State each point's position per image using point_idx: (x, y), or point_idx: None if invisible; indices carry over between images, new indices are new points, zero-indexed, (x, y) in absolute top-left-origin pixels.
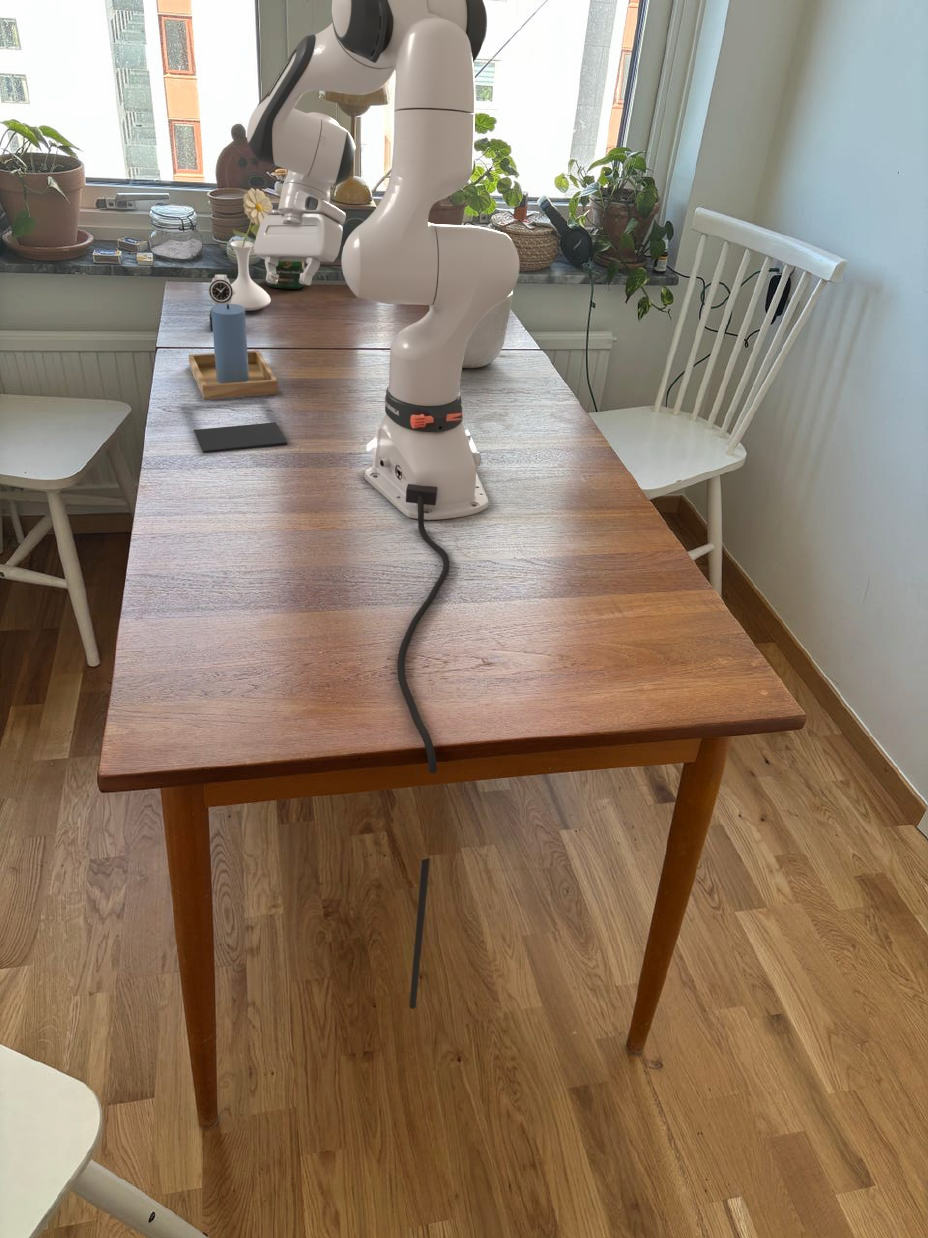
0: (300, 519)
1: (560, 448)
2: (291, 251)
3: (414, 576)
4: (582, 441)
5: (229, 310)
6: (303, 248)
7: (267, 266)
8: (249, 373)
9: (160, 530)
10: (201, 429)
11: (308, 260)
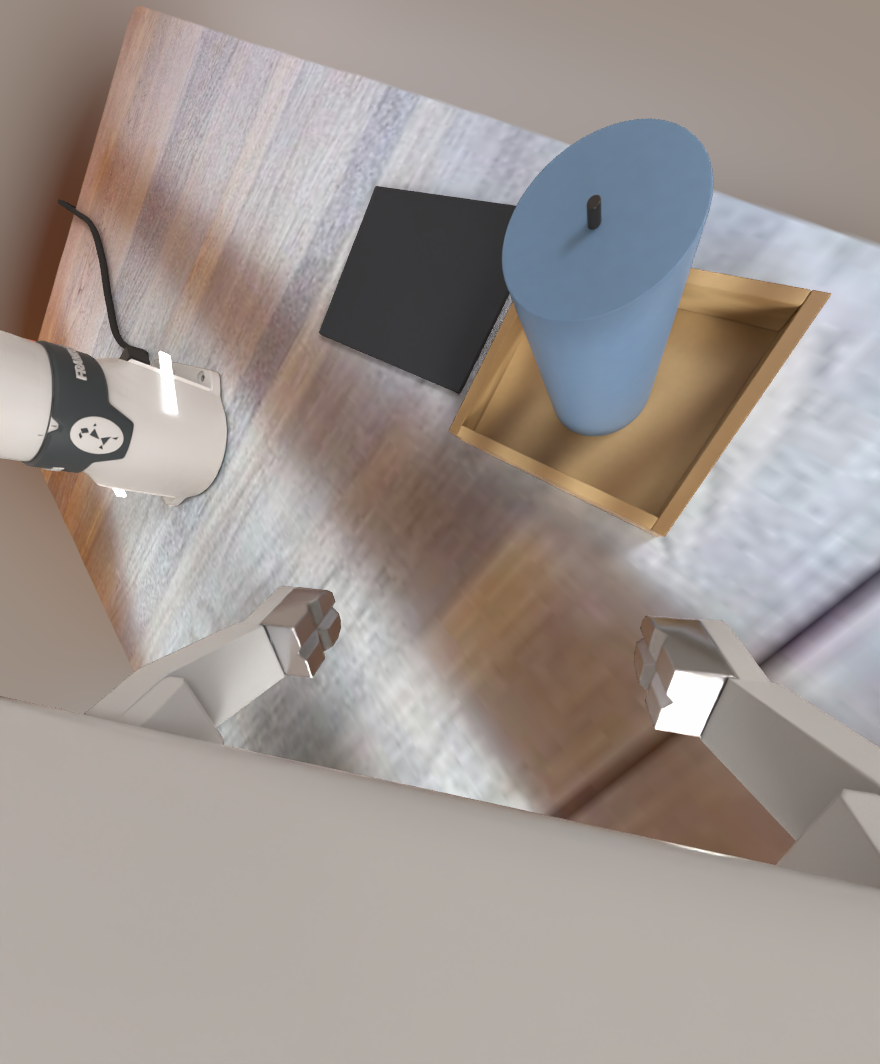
0: (212, 253)
1: (146, 626)
2: (282, 802)
3: (129, 305)
4: (141, 662)
5: (567, 223)
6: (37, 800)
7: (817, 730)
8: (602, 455)
9: (276, 76)
10: (434, 209)
11: (147, 696)
